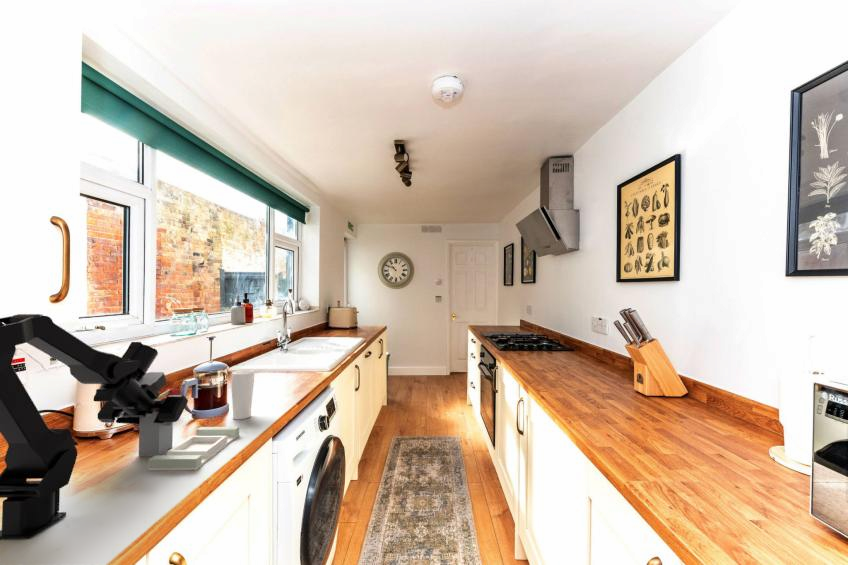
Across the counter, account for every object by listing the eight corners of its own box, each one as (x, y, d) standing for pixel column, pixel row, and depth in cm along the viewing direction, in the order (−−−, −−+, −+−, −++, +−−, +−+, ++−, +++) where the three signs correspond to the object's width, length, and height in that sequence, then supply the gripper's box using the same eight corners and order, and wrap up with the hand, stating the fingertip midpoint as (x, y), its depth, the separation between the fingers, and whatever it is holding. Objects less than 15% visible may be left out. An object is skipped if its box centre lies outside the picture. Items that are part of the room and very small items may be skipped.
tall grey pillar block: (158, 455, 90) (159, 407, 91) (138, 455, 90) (139, 407, 91) (172, 447, 95) (173, 401, 96) (153, 447, 95) (154, 401, 96)
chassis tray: (196, 469, 83) (196, 459, 83) (148, 470, 83) (148, 459, 83) (239, 435, 103) (239, 426, 103) (200, 435, 103) (200, 426, 103)
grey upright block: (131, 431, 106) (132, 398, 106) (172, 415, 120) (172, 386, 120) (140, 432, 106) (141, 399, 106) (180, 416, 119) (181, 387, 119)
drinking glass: (232, 415, 120) (233, 370, 121) (254, 413, 122) (255, 369, 123) (228, 422, 114) (229, 374, 114) (251, 419, 116) (252, 373, 116)
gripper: (184, 363, 90) (209, 395, 100) (108, 364, 89) (141, 395, 100) (160, 405, 82) (190, 435, 92) (77, 405, 81) (117, 435, 92)
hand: (160, 423), depth 94 cm, fingers closed on tall grey pillar block, 5 cm apart
